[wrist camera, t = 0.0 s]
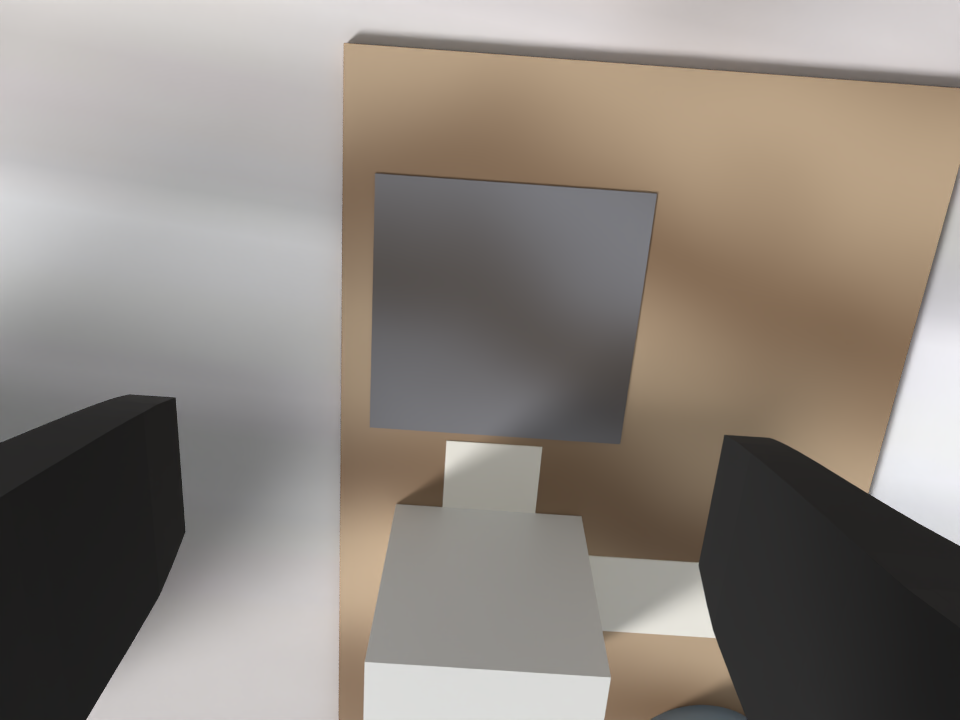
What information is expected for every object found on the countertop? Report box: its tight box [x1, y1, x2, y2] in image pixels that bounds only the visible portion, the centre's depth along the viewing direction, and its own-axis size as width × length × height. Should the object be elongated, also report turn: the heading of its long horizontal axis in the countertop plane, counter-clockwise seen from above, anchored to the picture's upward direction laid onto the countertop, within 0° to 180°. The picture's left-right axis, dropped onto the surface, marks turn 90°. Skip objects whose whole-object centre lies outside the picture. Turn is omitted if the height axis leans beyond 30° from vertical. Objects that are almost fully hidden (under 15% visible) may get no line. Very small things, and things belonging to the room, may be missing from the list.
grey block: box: [363, 504, 611, 720], centre depth 21 cm, size 5×5×6 cm
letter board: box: [339, 43, 960, 720], centre depth 23 cm, size 23×14×1 cm, turn 176°
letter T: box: [443, 440, 716, 638], centre depth 24 cm, size 9×10×1 cm
